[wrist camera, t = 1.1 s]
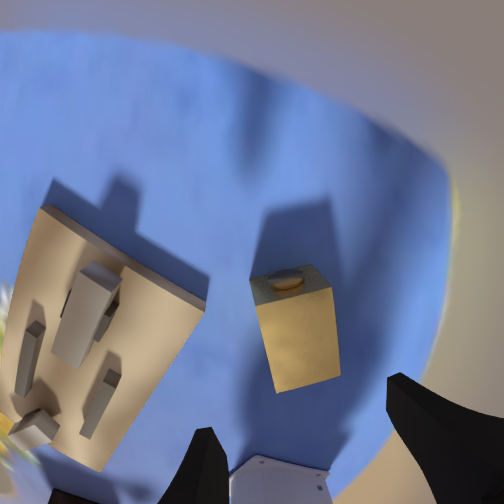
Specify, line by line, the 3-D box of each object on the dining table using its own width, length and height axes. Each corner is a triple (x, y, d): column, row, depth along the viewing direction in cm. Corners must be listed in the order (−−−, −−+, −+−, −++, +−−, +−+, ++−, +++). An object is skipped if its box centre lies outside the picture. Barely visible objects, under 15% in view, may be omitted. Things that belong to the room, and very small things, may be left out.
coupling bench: (206, 302, 19) (202, 337, 15) (103, 462, 23) (94, 493, 19) (51, 204, 17) (13, 215, 12) (4, 401, 20) (-15, 426, 16)
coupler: (310, 257, 19) (331, 279, 15) (323, 346, 21) (341, 380, 17) (247, 272, 19) (253, 298, 15) (268, 361, 21) (277, 397, 17)
